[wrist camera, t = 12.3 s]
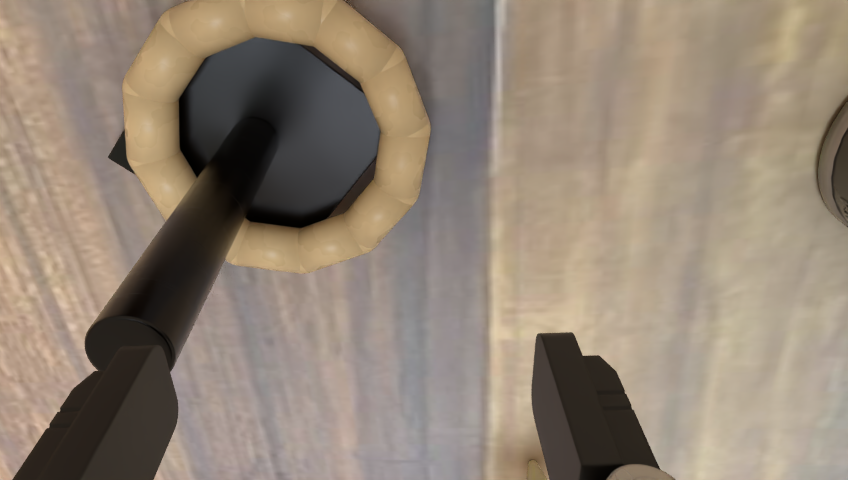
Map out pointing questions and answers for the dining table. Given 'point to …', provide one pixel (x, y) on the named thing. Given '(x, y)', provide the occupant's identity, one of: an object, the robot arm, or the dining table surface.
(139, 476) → the robot arm
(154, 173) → the ring
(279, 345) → the dining table surface
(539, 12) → the dining table surface
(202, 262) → the post
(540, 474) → the ice cream cone
